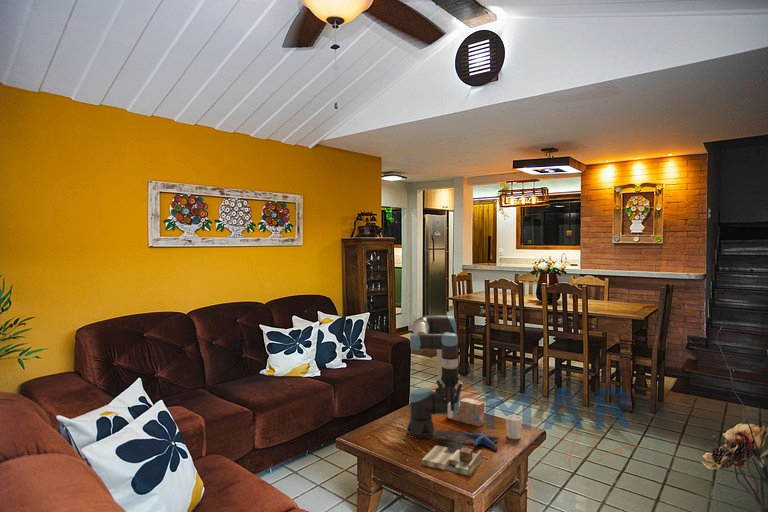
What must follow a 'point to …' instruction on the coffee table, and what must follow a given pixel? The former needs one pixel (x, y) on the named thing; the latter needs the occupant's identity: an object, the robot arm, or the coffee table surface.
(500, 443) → the coffee table surface
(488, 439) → the starfish
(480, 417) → the stack of blocks
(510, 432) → the white cup
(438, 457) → the board
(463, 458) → the walnut cube
